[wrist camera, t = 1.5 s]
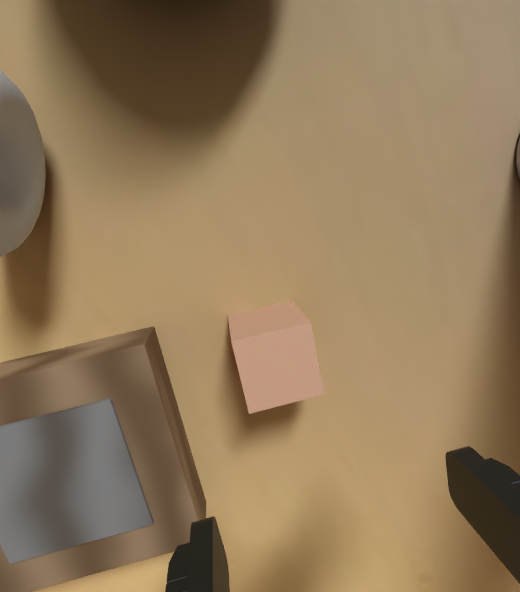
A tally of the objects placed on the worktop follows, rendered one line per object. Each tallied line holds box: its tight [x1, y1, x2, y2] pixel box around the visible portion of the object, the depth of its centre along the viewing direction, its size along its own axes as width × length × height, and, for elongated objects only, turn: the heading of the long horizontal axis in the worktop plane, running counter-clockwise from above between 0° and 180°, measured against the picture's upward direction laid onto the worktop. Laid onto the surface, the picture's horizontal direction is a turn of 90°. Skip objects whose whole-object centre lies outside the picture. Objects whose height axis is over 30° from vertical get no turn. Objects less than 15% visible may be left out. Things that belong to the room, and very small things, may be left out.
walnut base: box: [0, 327, 206, 592], centre depth 27 cm, size 16×16×4 cm
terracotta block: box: [228, 300, 324, 414], centre depth 26 cm, size 5×5×6 cm
